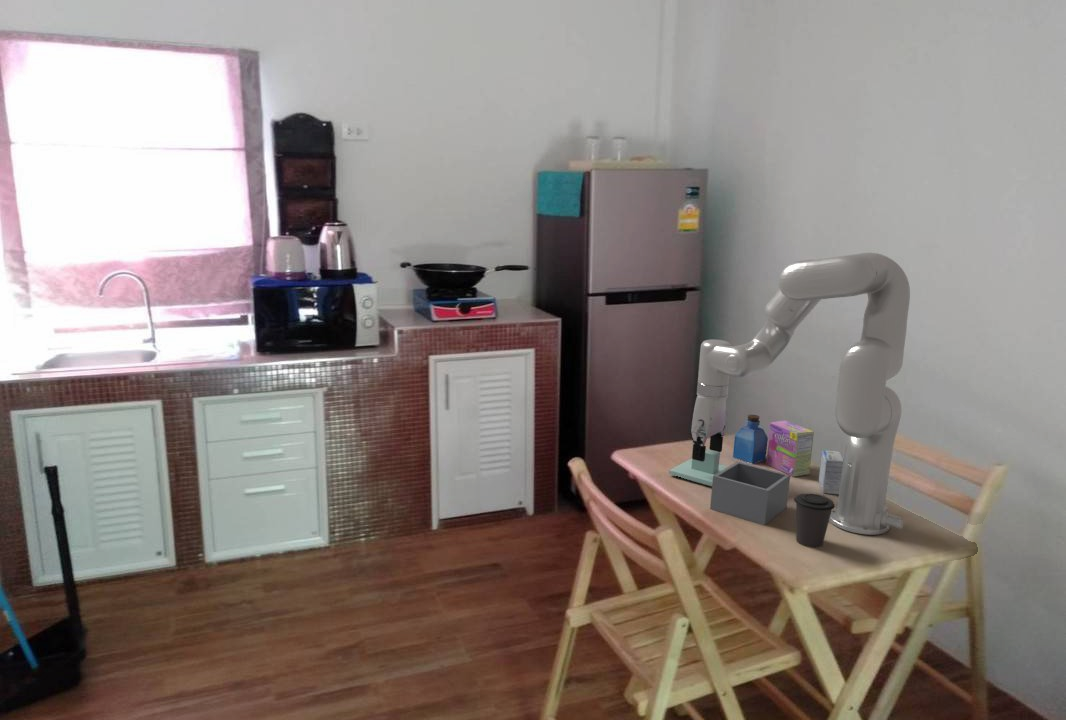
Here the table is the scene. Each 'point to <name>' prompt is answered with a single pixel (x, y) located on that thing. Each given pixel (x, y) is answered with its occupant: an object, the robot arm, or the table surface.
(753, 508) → the parts tub
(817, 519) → the coffee cup
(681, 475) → the lid
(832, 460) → the medicine box
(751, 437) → the perfume bottle
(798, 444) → the box
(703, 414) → the robot arm
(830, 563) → the table surface
